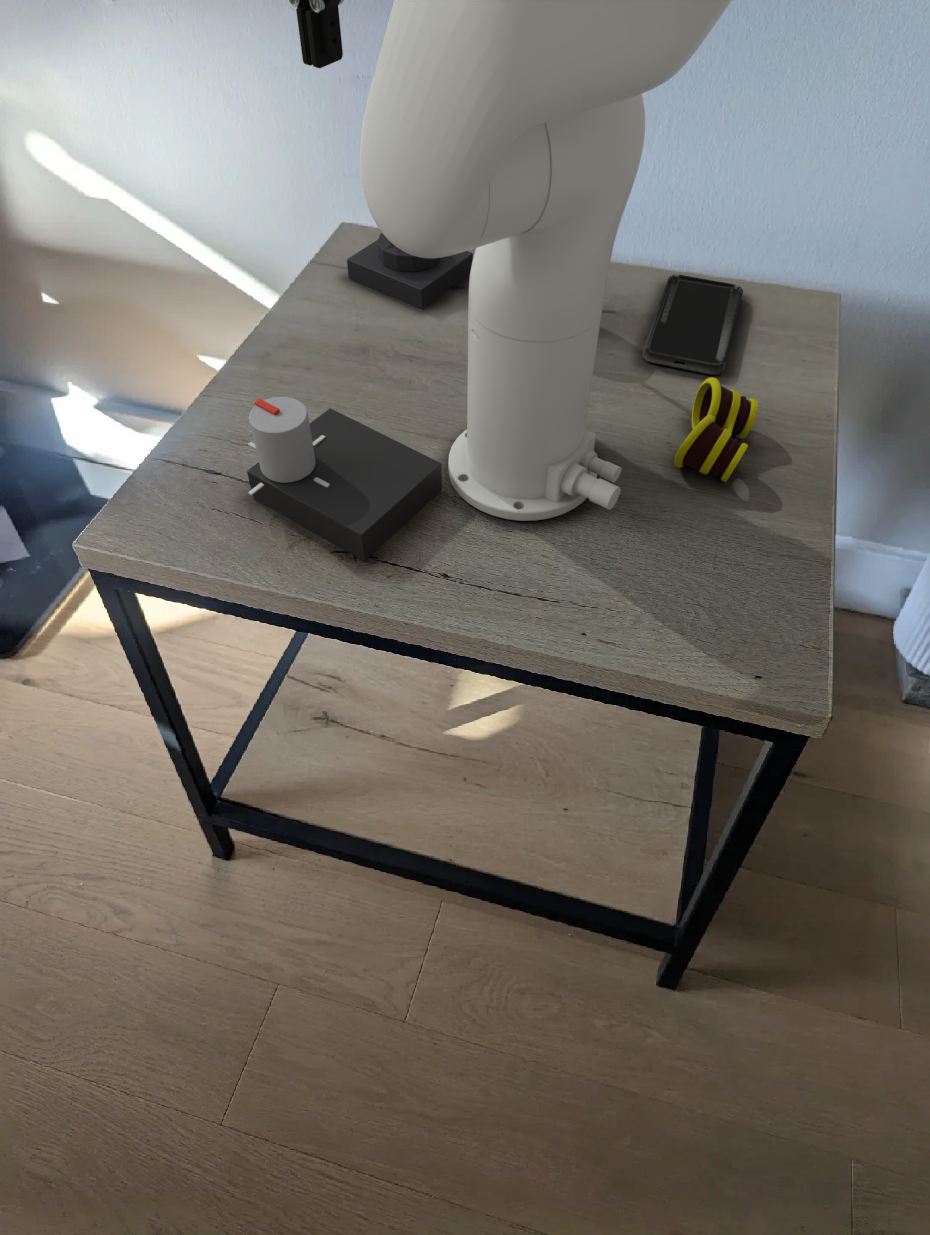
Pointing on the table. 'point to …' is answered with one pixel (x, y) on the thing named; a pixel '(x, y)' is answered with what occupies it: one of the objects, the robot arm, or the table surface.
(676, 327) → the phone
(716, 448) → the opera glasses
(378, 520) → the panel
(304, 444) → the knob
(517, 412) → the robot arm
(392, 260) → the grey button base
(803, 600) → the table surface
